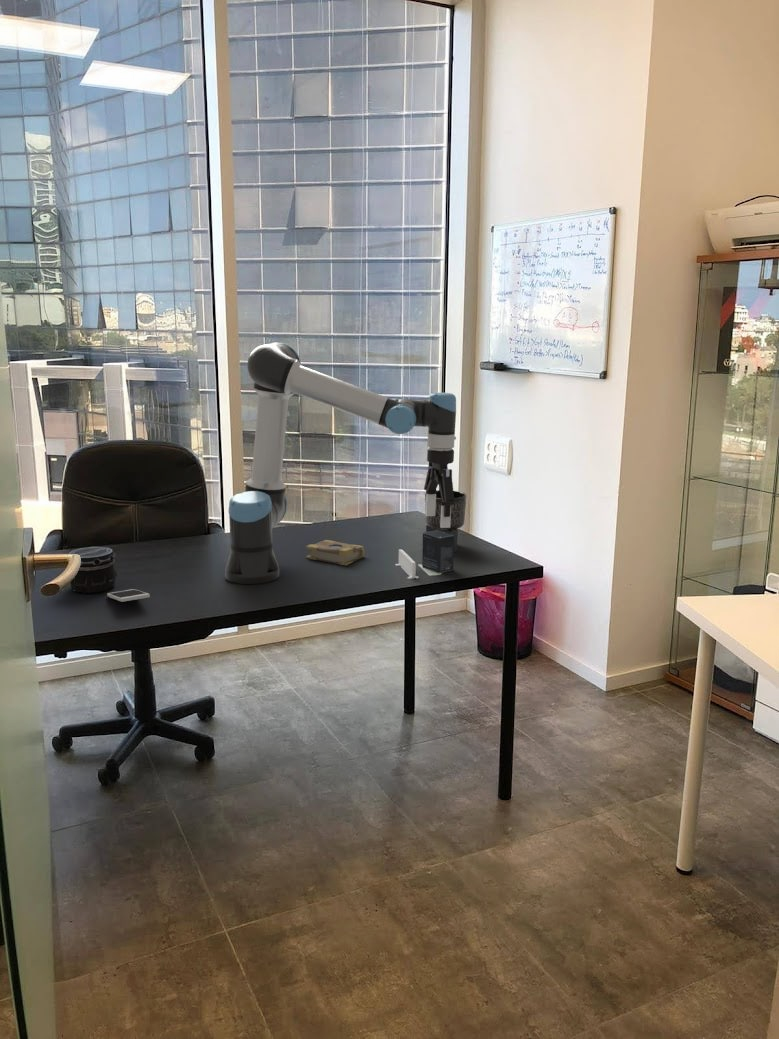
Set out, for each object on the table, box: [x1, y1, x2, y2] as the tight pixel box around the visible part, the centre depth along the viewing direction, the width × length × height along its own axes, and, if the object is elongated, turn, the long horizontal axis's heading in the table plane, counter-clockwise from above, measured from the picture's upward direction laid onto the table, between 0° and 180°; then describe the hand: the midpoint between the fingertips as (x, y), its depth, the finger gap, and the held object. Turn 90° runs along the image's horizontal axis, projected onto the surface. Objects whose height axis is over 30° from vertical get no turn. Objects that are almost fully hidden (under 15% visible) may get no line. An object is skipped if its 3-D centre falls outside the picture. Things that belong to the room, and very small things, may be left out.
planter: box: [424, 489, 467, 553], centre depth 271 cm, size 13×13×18 cm
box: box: [421, 530, 455, 573], centre depth 250 cm, size 8×6×11 cm
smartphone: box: [106, 588, 150, 603], centre depth 222 cm, size 7×16×1 cm, turn 32°
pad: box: [418, 563, 443, 577], centre depth 251 cm, size 9×11×1 cm
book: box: [305, 539, 365, 566], centre depth 263 cm, size 15×11×5 cm
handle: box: [394, 549, 420, 580], centre depth 248 cm, size 3×14×5 cm, turn 15°
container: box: [68, 546, 118, 594], centre depth 233 cm, size 13×13×10 cm
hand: (437, 521), depth 248 cm, fingers open, 13 cm apart
